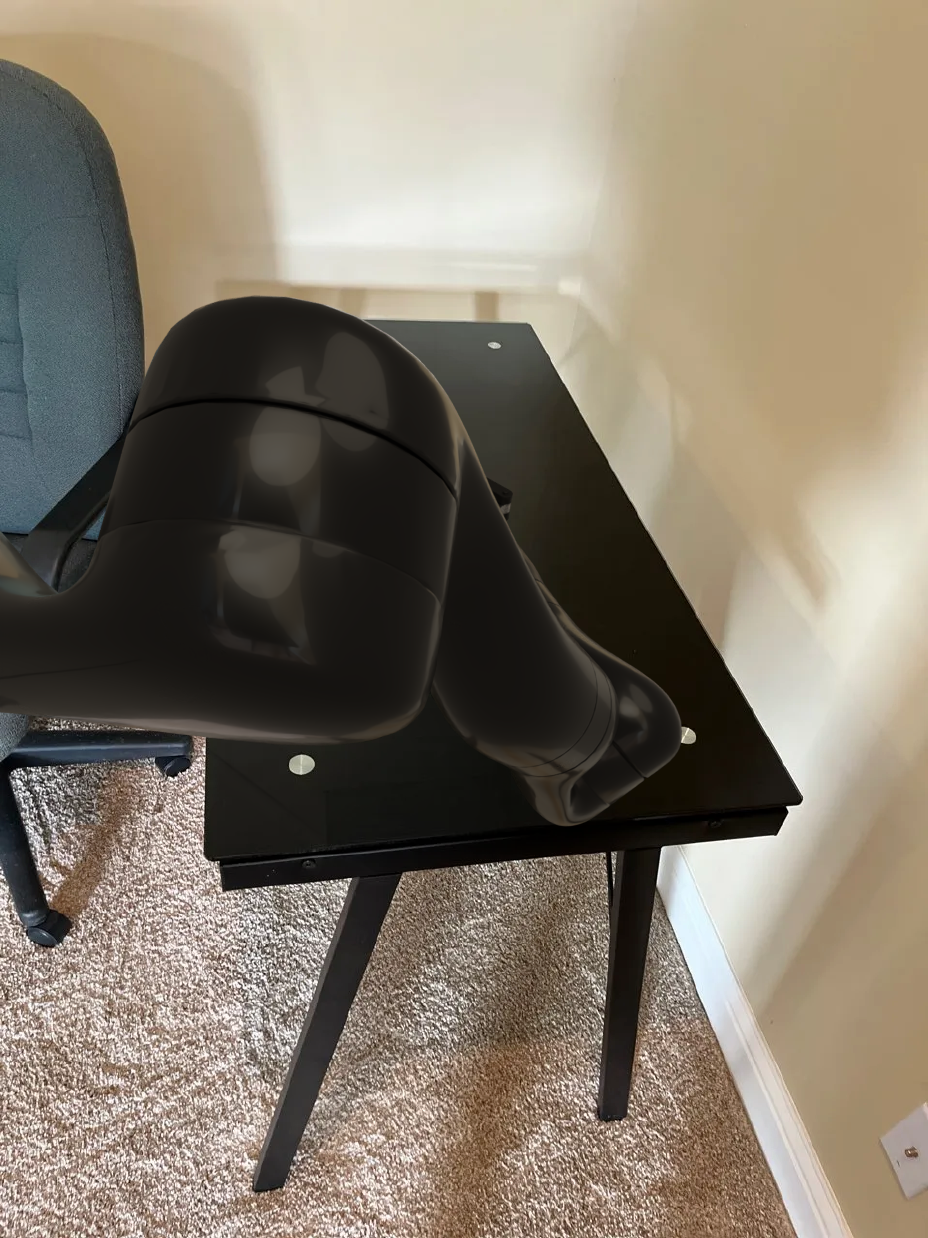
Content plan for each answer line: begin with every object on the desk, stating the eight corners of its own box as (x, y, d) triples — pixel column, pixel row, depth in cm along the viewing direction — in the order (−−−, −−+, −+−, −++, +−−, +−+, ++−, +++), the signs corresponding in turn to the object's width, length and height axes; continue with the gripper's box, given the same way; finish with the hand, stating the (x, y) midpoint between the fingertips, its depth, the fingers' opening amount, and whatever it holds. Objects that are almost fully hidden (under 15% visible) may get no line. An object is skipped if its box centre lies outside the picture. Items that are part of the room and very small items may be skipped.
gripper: (570, 520, 61) (472, 407, 72) (391, 553, 55) (316, 426, 67) (552, 597, 66) (463, 480, 77) (386, 634, 60) (317, 504, 72)
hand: (395, 456), depth 72 cm, fingers closed on lid, 3 cm apart
